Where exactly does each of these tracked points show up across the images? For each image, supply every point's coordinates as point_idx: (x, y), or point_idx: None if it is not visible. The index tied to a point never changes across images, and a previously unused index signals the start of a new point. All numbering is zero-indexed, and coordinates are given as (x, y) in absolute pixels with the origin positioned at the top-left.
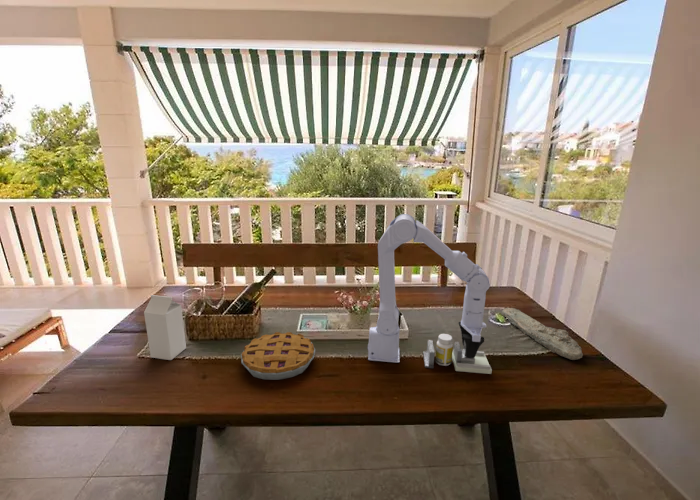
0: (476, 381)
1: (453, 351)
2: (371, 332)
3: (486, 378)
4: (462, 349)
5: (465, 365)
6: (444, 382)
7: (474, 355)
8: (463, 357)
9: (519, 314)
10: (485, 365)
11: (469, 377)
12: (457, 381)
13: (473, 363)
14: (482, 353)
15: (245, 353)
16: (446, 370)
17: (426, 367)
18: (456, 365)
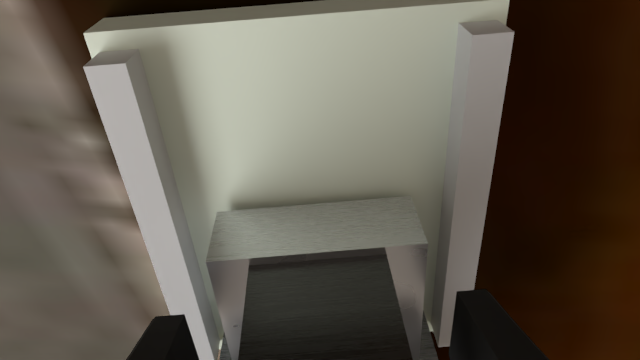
0: (612, 162)
1: (215, 356)
2: None
3: (572, 60)
4: (230, 345)
5: (472, 287)
6: (595, 357)
7: (506, 322)
8: (409, 342)
9: None
10: (474, 96)
11: (545, 212)
12: (593, 292)
13: (412, 211)
14: (134, 86)
15: None
16: (447, 348)
17: None
18: (432, 325)
